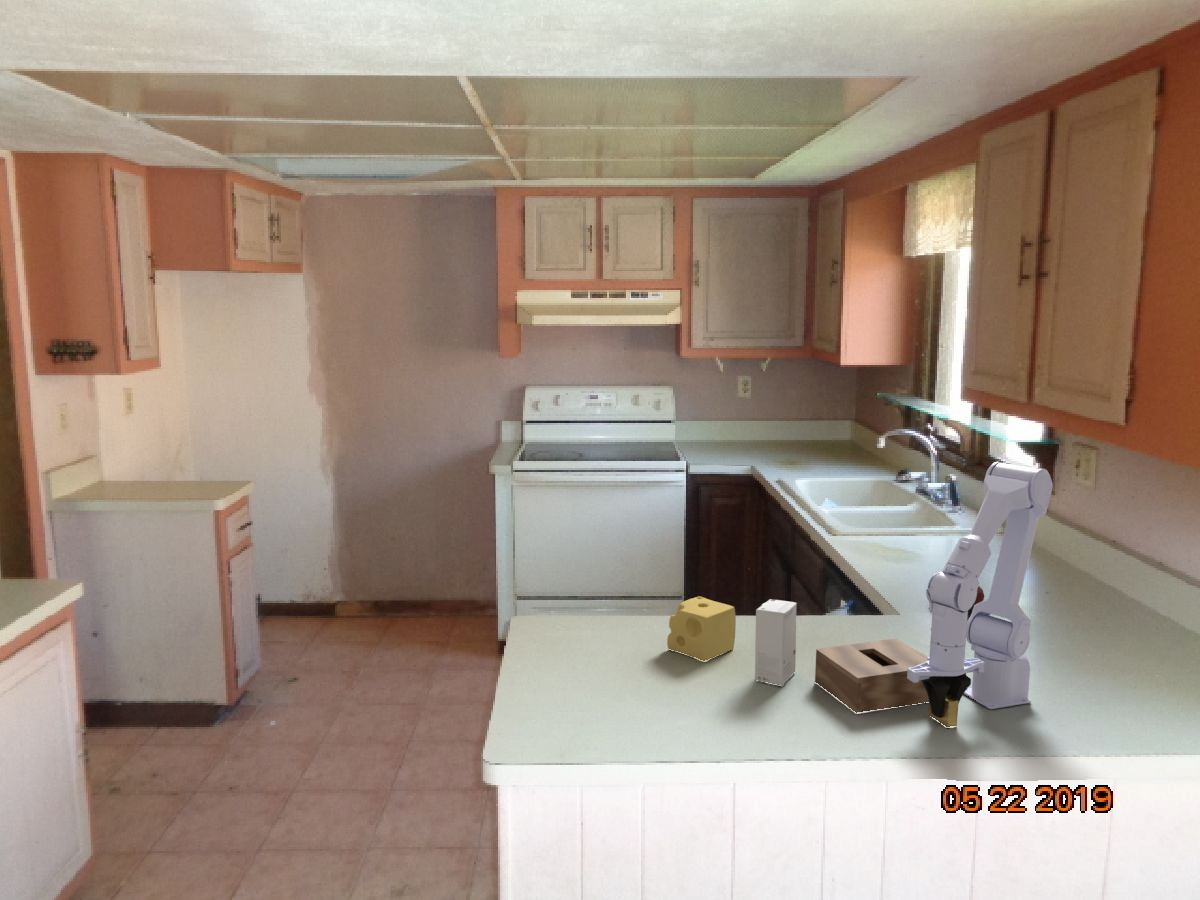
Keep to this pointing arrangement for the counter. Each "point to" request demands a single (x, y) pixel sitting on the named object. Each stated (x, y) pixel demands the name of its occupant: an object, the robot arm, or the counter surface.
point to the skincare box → (775, 641)
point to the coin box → (871, 674)
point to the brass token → (948, 712)
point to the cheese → (702, 628)
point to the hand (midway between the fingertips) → (942, 714)
